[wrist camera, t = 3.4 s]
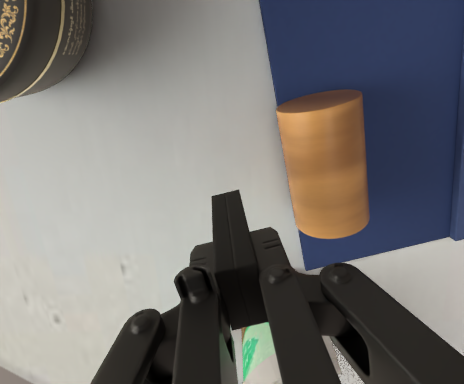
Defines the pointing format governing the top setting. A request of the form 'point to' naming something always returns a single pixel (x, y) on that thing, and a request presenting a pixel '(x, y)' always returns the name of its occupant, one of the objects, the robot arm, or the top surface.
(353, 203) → the roller
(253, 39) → the top surface
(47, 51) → the jar
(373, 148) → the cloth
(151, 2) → the top surface
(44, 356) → the top surface
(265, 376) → the food container
